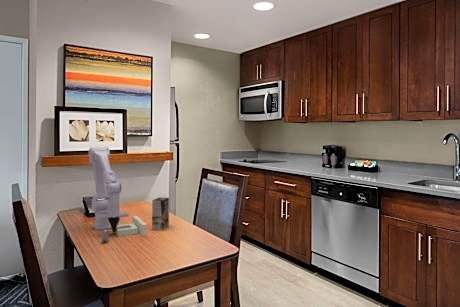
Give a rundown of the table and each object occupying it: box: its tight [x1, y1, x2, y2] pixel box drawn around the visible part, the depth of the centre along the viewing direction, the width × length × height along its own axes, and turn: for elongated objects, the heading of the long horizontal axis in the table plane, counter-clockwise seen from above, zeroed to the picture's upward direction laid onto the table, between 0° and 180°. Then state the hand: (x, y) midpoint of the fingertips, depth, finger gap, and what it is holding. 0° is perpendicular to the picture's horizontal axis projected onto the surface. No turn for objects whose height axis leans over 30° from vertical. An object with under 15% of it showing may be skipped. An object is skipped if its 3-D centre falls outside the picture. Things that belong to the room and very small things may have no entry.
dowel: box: [101, 228, 109, 244], centre depth 156 cm, size 3×3×6 cm
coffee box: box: [151, 197, 170, 231], centre depth 181 cm, size 9×6×16 cm
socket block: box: [114, 222, 139, 237], centre depth 172 cm, size 10×10×3 cm
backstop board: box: [132, 215, 148, 237], centre depth 174 cm, size 20×2×6 cm, turn 30°
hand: (113, 231), depth 169 cm, fingers closed
